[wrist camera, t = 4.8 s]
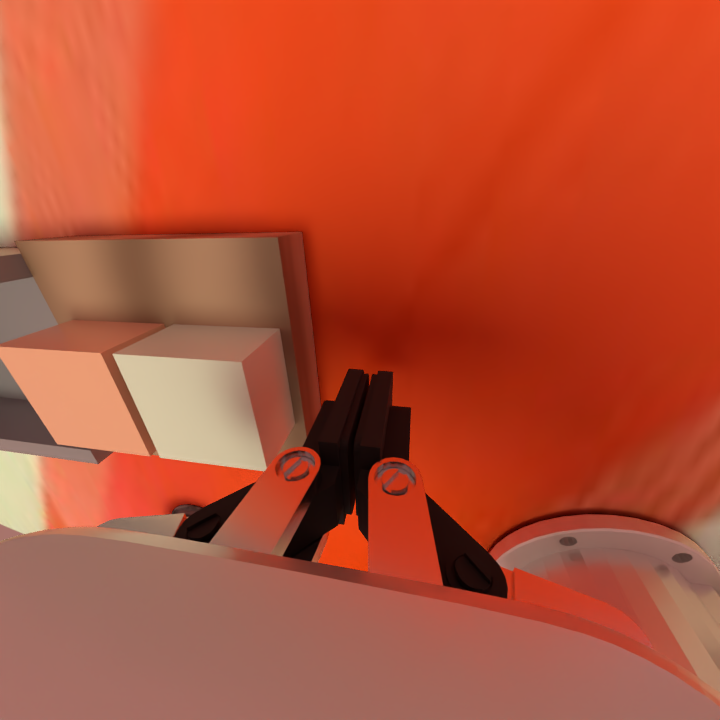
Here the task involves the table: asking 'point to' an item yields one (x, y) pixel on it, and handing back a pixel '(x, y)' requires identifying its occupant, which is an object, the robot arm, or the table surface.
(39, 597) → the robot arm
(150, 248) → the board
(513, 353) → the table surface
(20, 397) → the box
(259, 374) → the cream white block
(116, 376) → the salmon orange block
